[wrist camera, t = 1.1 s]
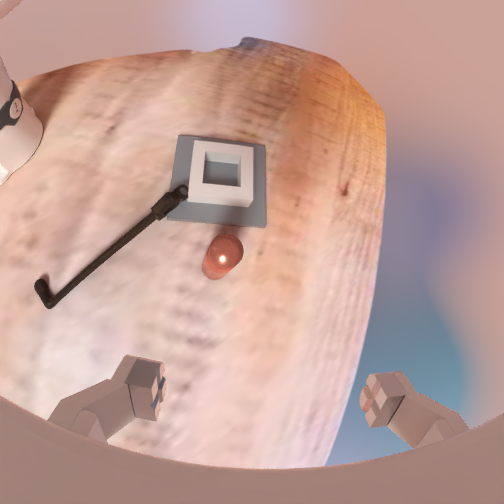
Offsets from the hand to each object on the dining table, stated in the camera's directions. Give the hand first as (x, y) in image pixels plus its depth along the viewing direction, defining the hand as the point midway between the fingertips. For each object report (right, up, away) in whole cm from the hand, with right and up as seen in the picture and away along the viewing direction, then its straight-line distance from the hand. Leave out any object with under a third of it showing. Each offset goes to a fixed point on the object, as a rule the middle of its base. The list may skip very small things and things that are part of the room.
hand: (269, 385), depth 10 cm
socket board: (-6, +17, +37) cm, 41 cm away
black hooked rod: (-23, +6, +30) cm, 38 cm away
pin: (-6, +3, +33) cm, 34 cm away
